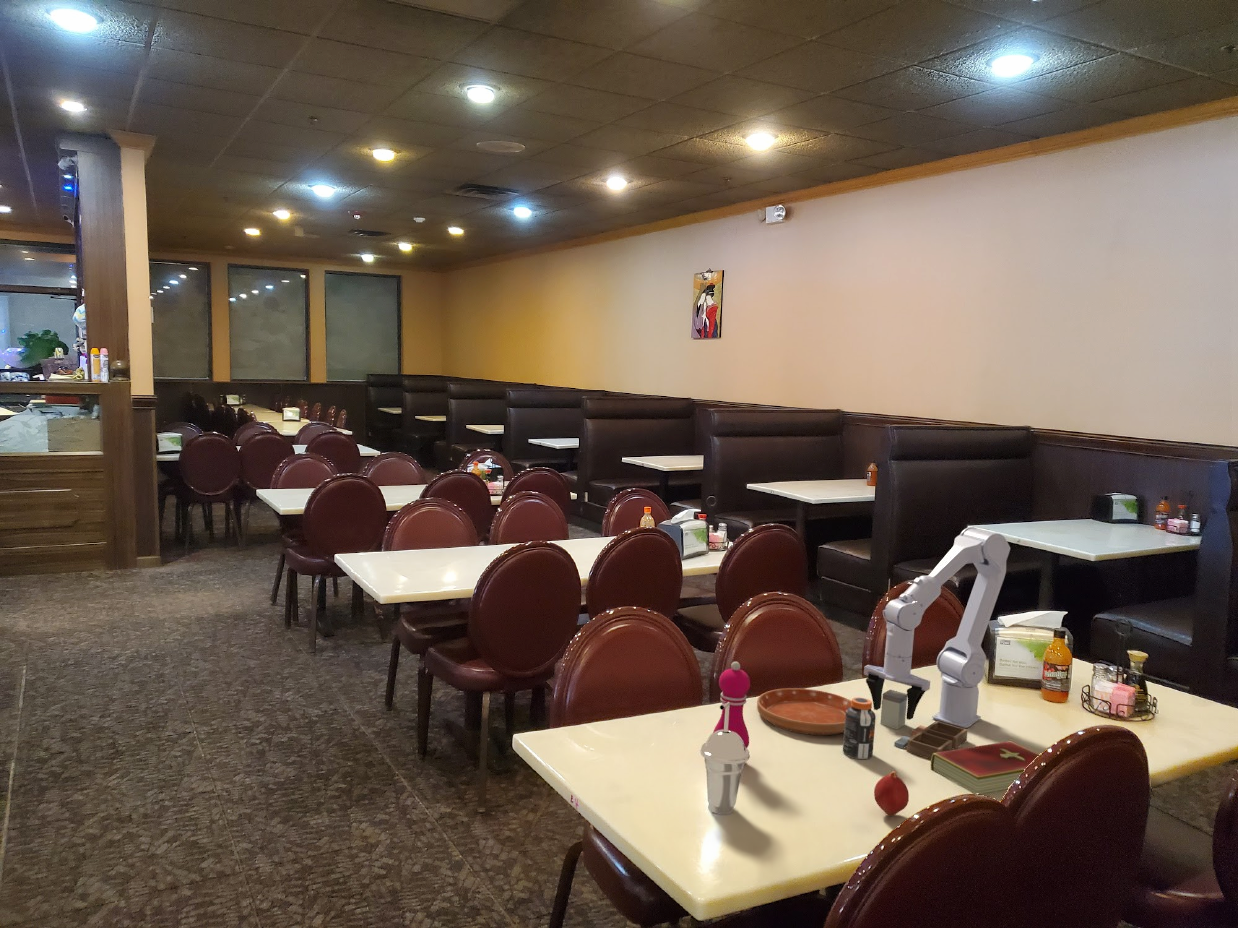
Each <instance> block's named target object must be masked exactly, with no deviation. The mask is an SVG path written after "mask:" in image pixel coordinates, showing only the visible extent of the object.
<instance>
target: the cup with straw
mask: <svg viewBox="0 0 1238 928" xmlns="http://www.w3.org/2000/svg"><path fill="white" fill-rule="evenodd" d="M724 708H725V722H724V729H722V730H718V731H716V732H714V733H713V732H712V733H711V734H709V737H708V738H707V740H706V741H705V743H703V744H702V745H701V746H700V750H699V753H700V755H701V756H702V758H704V765H705V770H706V771H705V772H706V790H707V791H706V793H707V802H708V805H707V808H708V810H709V811H711V812H712V813H714V814H718V815H731V814H733V813H734V811H735V806H736V803H737V800H738V799H737V797H738V794H739V793H738V792H739V787H740V782H741V777H742V773H743V771H744V767H745V764H746V762H748V760H750V757H751V756H750V751H749V749H748V747H747V748H746V747H745V745H744V742H743V740H742V738H741V737H740V736H739V735H738V734H737V733H735V732H733V731H731V730H728V723H729V708H730V705H729V702H728V701H726V702H725V703H723V704H722V703H721V705H720V706H719V709H720V710H721V711H722V710H723V709H724ZM744 763H745V764H744Z"/></svg>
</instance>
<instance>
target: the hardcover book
mask: <svg viewBox="0 0 1238 928" xmlns="http://www.w3.org/2000/svg"><path fill="white" fill-rule="evenodd" d="M1039 754H1040V753H1037V752H1035V751H1033V750H1031V749H1029V748H1026V747H1024V746H1022V745H1020V744H1018V743H1015V742H1014V741H1011V740H1010V741H1004V742H997V743H990V744H983V745H978V746H970V747H965V748H959V749H958V748H957V749H952V750H950V751H944V752H938V753H933V754H932V757H931V759H930V770H931V771H934V772H936V773H938V774H940V775H942V776H943V777H944V778H947V779H948V780H951V781H952V782H954V783H956V784H957V785H959V786H961V787H963V788H965V789H966V790H968V791H970V792H972V793H974V794H975V793H979V794H978V795H981V794H988V793H992V792H993V793H995V792H998V791H1003V790H1008V787H1009V786H1010V785H1011V784H1012V783H1013V782H1014V780H1016V779H1017V778H1018V777H1019V775H1021V773H1022V772H1023V771H1024V769H1026V767H1027V766H1028V765H1029V764H1030V763H1031V762H1032V761H1033V760H1034V759H1035V758H1036V757H1037V756H1039Z"/></svg>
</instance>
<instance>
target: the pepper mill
mask: <svg viewBox="0 0 1238 928" xmlns="http://www.w3.org/2000/svg"><path fill="white" fill-rule="evenodd" d="M718 685H719V688H720V690H721V691H722V692H721V693H720V699H719V700H720V701H721V705H722V704H723V703H725V702H726V701H728V702H729V705H730V708H729V723H728V730H731V731H733V732H735V733H737V734H738V735H739V736H740V737H741V738H742V740H743V742H744V745H745V747H746V748H747V749H748V748H749V745H750V735H749V731H748V729H747V725H746V722H745V720H744V705H745V704H747V694H746V693H747V692H748V691H749V690H750V687H751V680H750V676H749V675H748V674H747V673H746V672H745V671H744V670H742V669H741V663H739V662H738V661H732V663H731V665H730V668H728V669H726V670H724V671H723V672H722V673H721V675H720V676H719V680H718ZM724 722H725V708H724V709H723V710H721V715H720V718H719V720H718V722H717V724H716V725H715V727H714V729H713V732H712V733H714V732H716V731H718V730H722V729H724ZM744 765H746V762H745V763H744Z"/></svg>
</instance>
